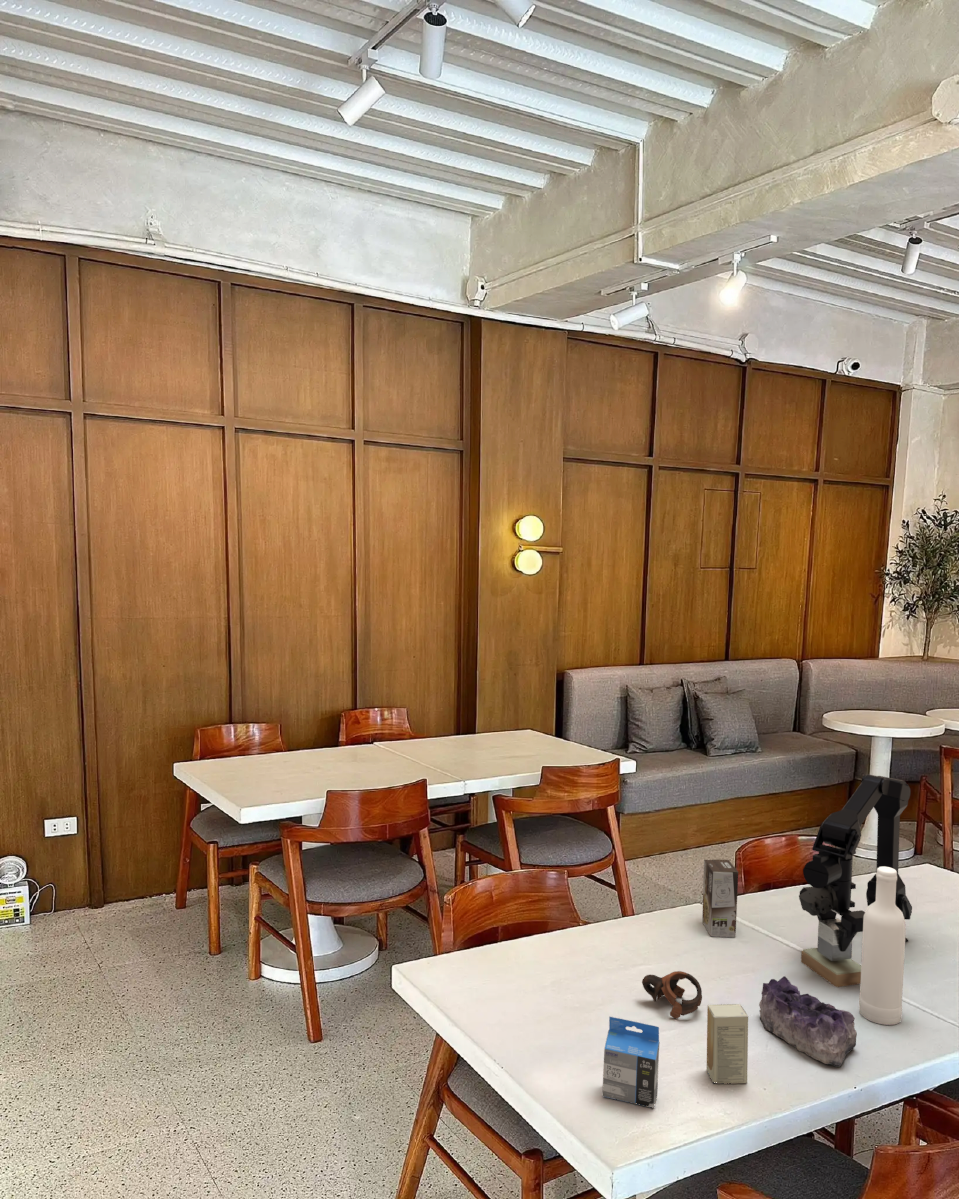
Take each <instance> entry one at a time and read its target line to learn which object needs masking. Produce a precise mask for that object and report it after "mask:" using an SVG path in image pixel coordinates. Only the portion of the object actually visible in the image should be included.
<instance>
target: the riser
mask: <svg viewBox="0 0 959 1199" xmlns="http://www.w3.org/2000/svg"><path fill="white" fill-rule="evenodd" d="M817 949H818V947H813V948H812V947H811V948H803V949H802V950H801V951H800V952H801V955H800V956H801V957H800V959H801V960H800V963H801V964H803V965H804V966H806V967H807V968H809V969H810V970H811V971H813V972H814V973H816V974H817V975H818V976H820V977H821V978H822V979H824V980H825V981H826V982H828V983H829V984H831V985H832V986H833V987H835V988H840V987H841V988H842V987H847V986H855V985H860V982H861V964H859V963H858V962H857V961H855V960H853V959H852V958H851V959H845V960H838V961H831V960H830V959H828V958H827V957H825V956H824V955H822V954H821V953H819V952H818V951H817Z"/></svg>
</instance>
